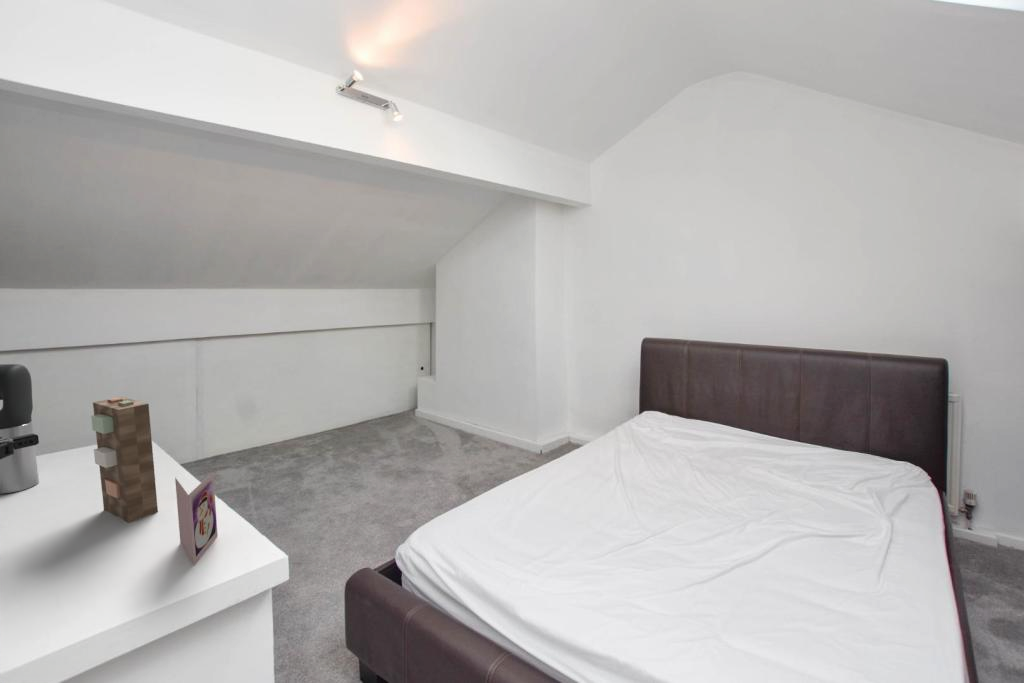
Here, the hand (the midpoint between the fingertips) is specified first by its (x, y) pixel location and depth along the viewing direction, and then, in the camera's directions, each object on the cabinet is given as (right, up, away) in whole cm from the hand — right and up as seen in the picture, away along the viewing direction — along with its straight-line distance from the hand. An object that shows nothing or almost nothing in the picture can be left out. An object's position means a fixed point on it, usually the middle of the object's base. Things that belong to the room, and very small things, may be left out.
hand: (36, 438), depth 102 cm
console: (+7, -21, +16) cm, 27 cm away
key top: (+6, 0, +11) cm, 12 cm away
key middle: (+5, -8, +12) cm, 15 cm away
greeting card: (+32, -24, 0) cm, 40 cm away
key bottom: (+6, -16, +14) cm, 22 cm away
